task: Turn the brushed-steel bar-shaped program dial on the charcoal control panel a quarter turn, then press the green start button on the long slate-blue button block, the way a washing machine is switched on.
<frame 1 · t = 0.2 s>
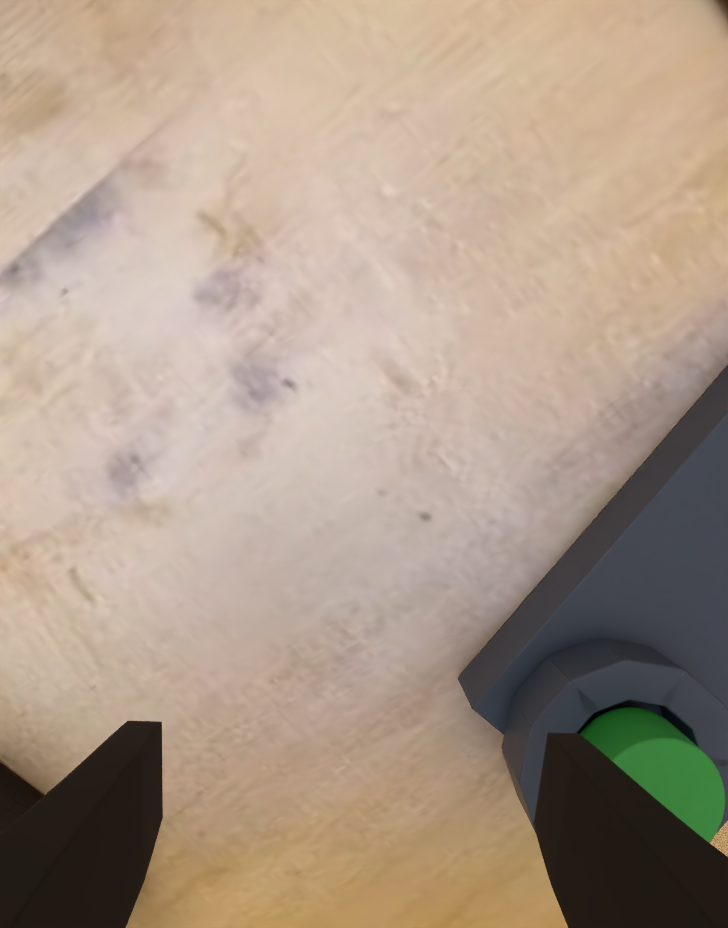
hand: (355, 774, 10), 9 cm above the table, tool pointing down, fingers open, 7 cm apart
start button: (642, 783, 15), point 5 cm above the table, slide at 0.2 cm
button block: (691, 569, 20), on the table
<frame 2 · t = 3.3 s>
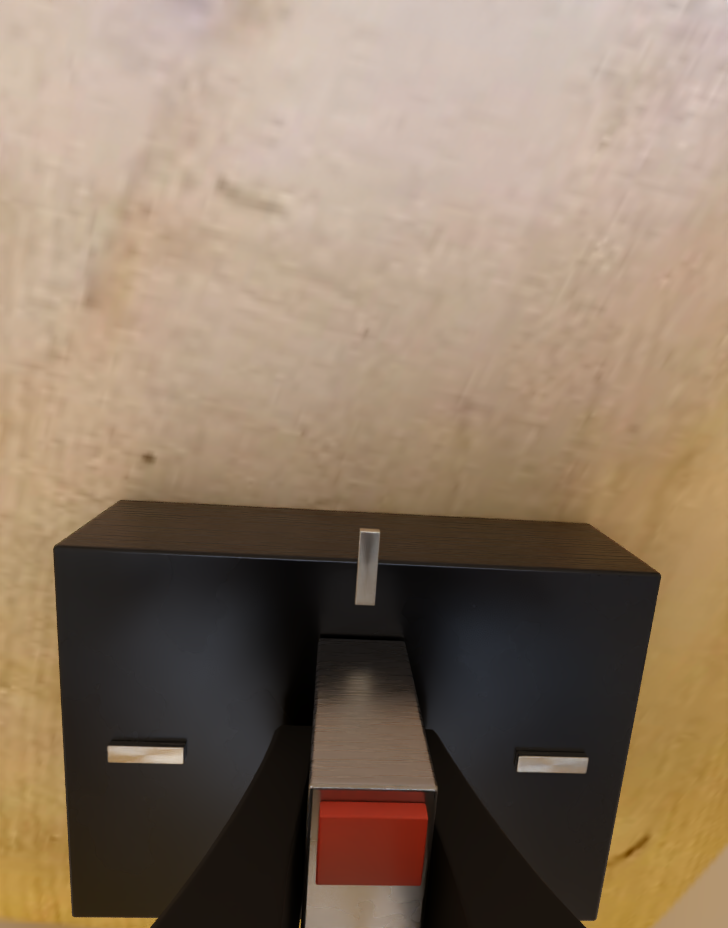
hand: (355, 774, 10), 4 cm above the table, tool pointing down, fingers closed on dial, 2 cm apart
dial: (356, 841, 9), point 5 cm above the table, hinge at 0.0°, touching gripper
control panel: (350, 666, 14), on the table
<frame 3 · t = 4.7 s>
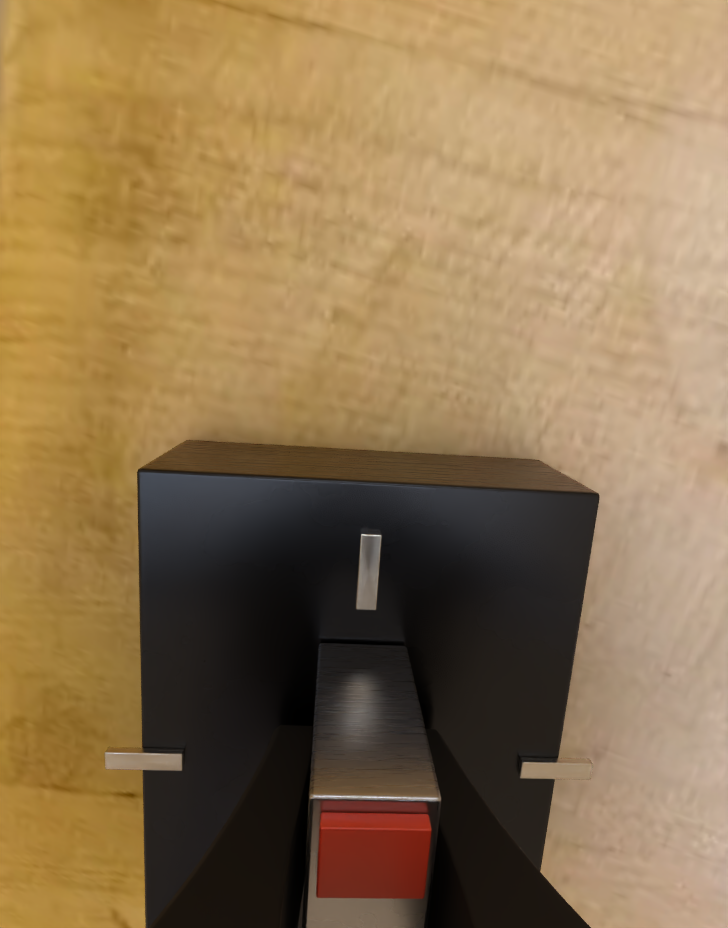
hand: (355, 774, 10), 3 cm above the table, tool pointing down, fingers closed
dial: (358, 850, 9), point 5 cm above the table, hinge at 90.0°
control panel: (350, 670, 13), on the table
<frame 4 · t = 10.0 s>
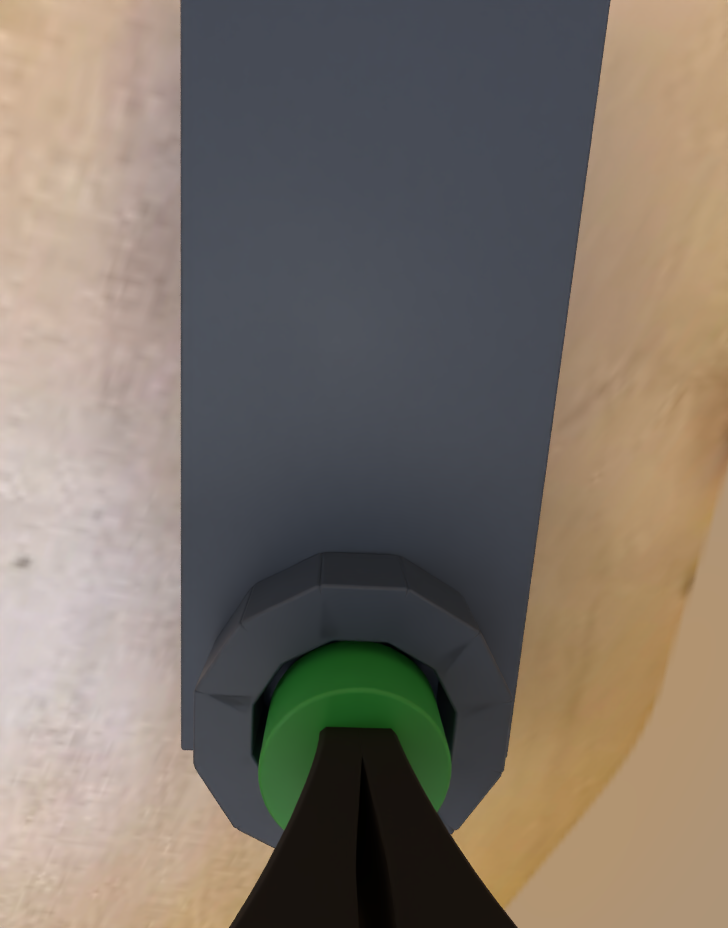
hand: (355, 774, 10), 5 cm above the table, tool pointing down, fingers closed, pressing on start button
start button: (354, 743, 11), point 4 cm above the table, slide at -0.1 cm, touching gripper
button block: (365, 399, 14), on the table
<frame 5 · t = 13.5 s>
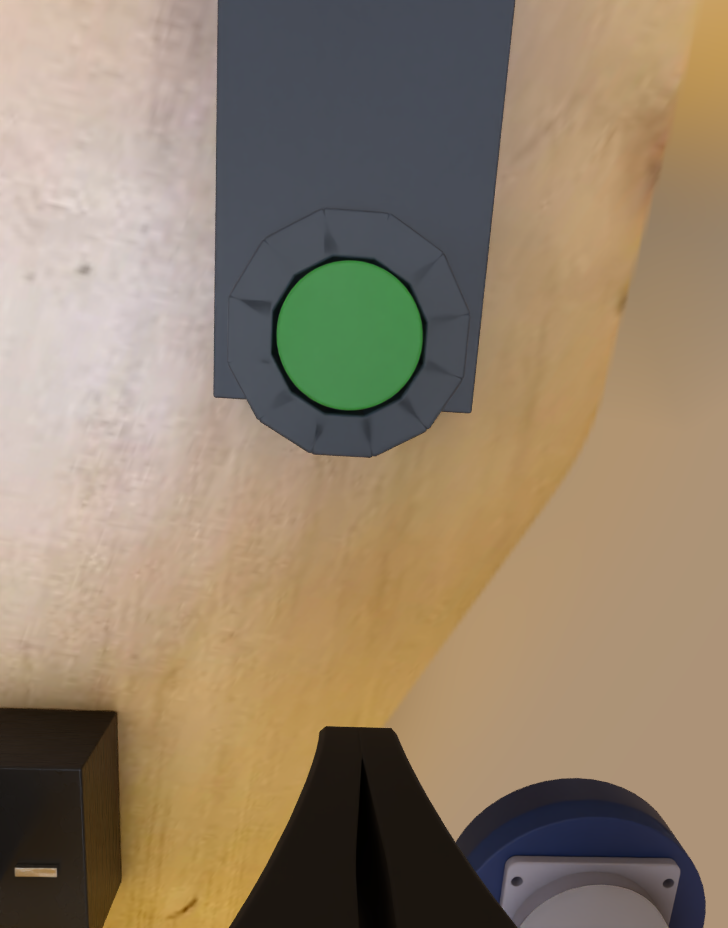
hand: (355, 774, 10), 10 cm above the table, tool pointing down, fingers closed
start button: (349, 338, 14), point 5 cm above the table, slide at 0.2 cm
button block: (359, 130, 17), on the table
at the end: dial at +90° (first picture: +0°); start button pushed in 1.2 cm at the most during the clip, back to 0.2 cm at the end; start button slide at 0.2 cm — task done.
